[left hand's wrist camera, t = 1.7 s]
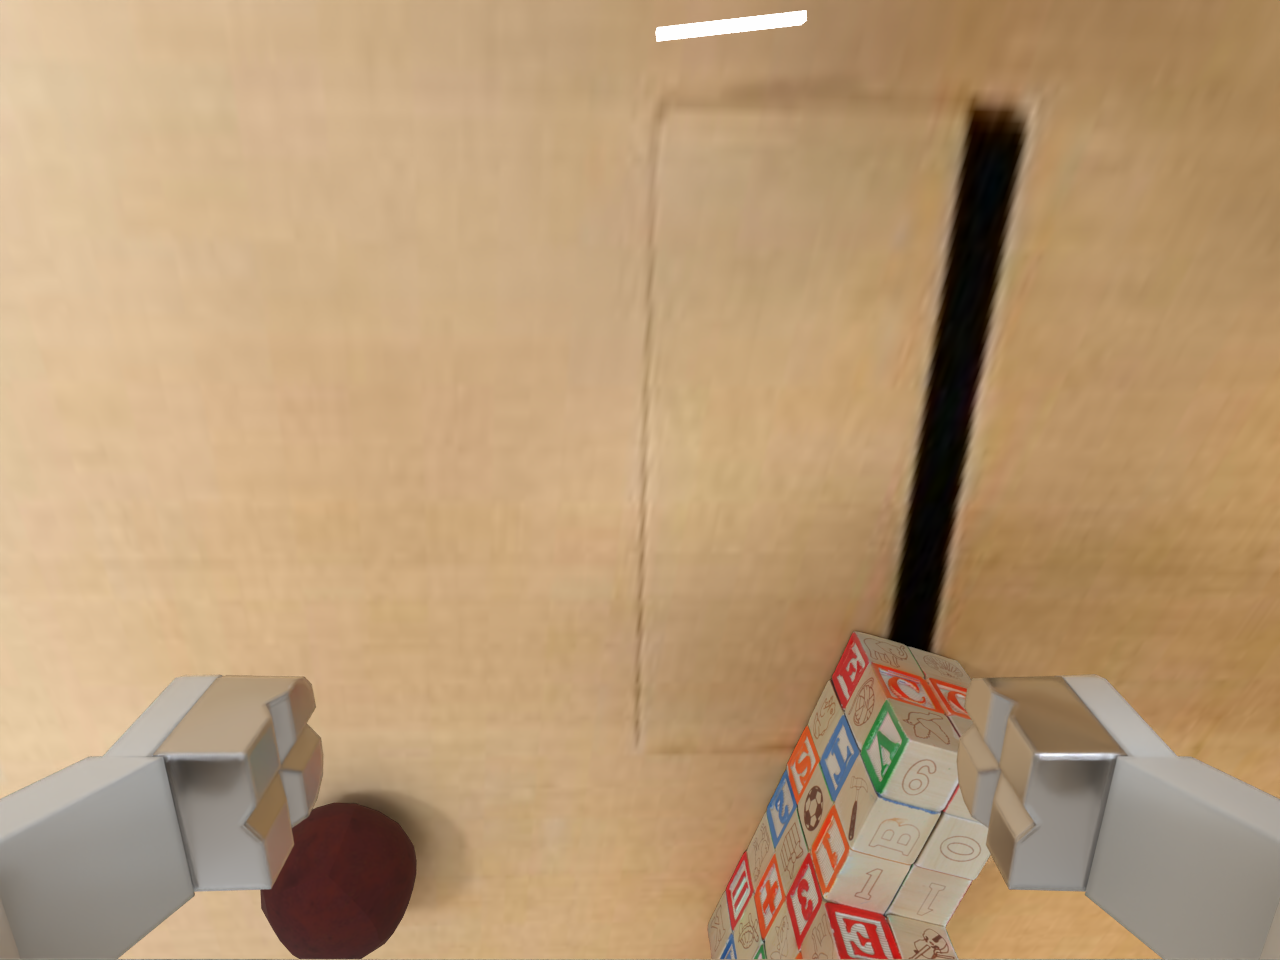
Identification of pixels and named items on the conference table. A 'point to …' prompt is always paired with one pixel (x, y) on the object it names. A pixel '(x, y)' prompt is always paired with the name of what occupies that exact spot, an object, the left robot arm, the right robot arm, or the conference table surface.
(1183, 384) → the conference table surface
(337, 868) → the plum
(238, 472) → the conference table surface
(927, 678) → the stack of blocks
